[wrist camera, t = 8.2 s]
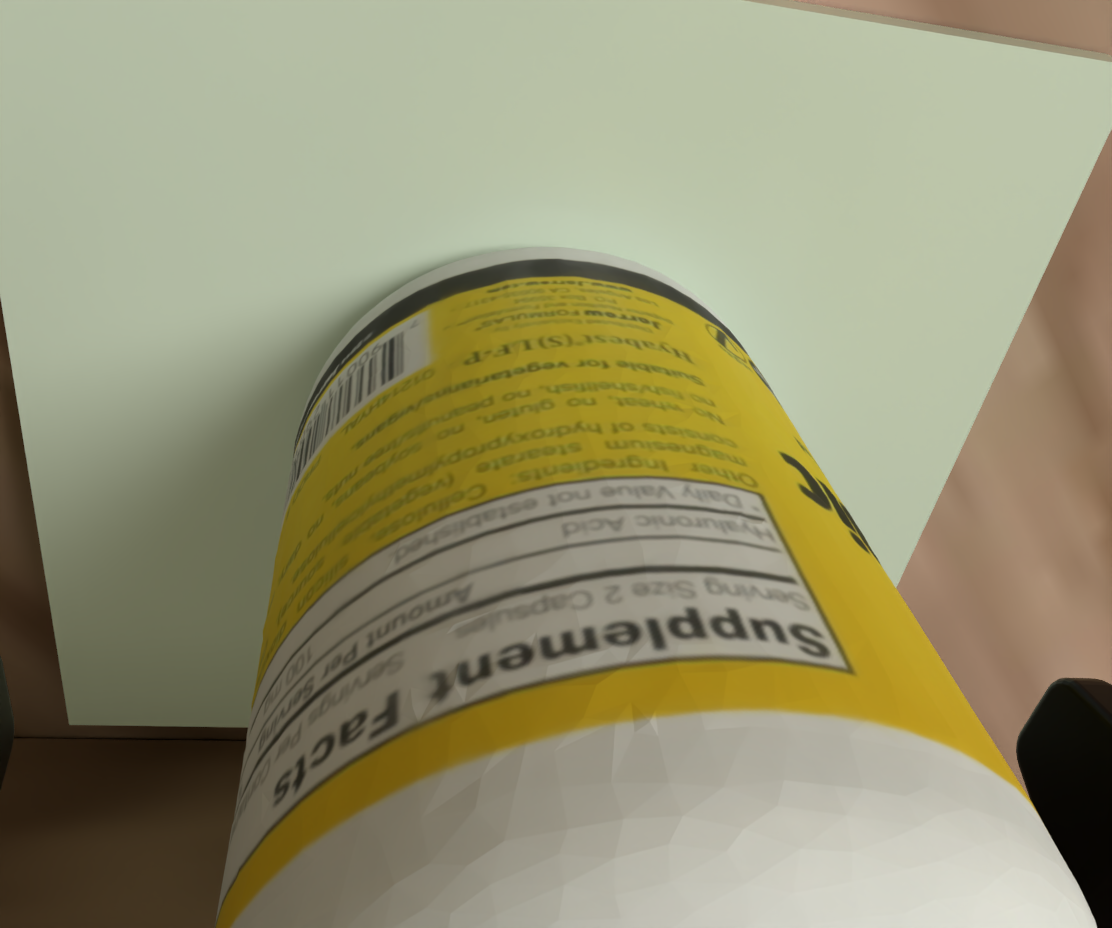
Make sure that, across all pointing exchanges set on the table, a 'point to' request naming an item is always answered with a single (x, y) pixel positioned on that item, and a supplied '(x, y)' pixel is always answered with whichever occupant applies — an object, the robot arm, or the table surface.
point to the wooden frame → (116, 832)
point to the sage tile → (479, 252)
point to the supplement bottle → (598, 645)
